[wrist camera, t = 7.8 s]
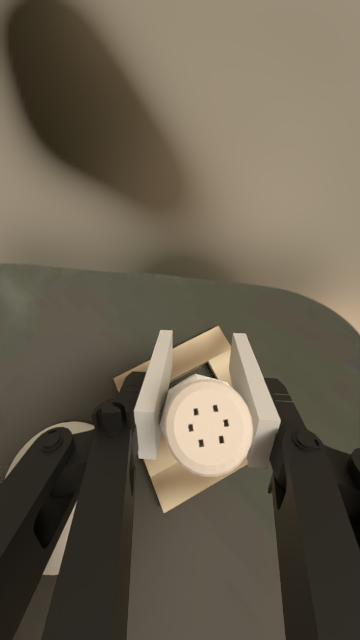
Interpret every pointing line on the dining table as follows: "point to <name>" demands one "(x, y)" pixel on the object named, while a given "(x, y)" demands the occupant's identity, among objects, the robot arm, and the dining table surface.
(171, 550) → the dining table surface
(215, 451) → the pepper shaker
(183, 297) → the dining table surface
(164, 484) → the birch frame
